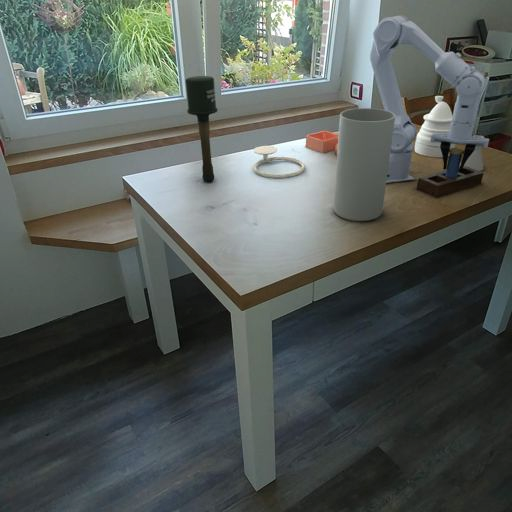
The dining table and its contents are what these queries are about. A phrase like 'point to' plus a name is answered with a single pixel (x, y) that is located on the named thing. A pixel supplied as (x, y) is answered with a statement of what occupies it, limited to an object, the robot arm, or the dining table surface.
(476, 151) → the flask
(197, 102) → the stick grenade
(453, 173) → the capped tube
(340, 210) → the cylinder vase
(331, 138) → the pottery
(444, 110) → the honey pot
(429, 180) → the holder
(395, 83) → the robot arm
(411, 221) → the dining table surface
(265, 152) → the hand towel holder
